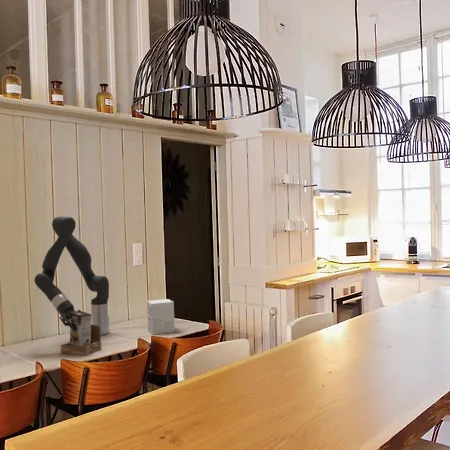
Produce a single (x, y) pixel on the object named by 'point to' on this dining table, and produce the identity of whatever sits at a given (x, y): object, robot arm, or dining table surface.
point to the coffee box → (81, 329)
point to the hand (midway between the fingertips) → (81, 328)
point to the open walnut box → (86, 349)
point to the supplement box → (160, 316)
